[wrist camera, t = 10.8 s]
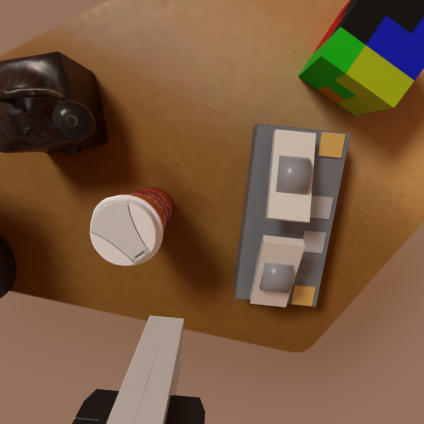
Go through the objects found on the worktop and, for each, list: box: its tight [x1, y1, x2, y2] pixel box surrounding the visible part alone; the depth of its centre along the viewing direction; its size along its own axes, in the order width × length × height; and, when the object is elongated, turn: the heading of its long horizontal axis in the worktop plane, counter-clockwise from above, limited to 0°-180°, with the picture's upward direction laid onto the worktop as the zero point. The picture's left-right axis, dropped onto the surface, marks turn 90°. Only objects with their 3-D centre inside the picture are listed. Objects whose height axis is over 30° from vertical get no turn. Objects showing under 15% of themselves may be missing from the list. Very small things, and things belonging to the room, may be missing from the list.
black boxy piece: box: [0, 52, 108, 153], centre depth 35 cm, size 16×11×18 cm
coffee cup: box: [90, 188, 173, 266], centre depth 39 cm, size 8×8×15 cm
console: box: [234, 124, 350, 307], centre depth 43 cm, size 12×25×6 cm, turn 174°
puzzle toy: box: [298, 0, 424, 116], centre depth 36 cm, size 10×10×10 cm
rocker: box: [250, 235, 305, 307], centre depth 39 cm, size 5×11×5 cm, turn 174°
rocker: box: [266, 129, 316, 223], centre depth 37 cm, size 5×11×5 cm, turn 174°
